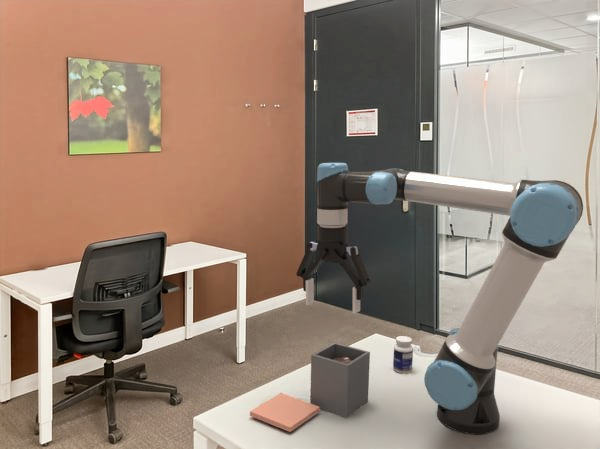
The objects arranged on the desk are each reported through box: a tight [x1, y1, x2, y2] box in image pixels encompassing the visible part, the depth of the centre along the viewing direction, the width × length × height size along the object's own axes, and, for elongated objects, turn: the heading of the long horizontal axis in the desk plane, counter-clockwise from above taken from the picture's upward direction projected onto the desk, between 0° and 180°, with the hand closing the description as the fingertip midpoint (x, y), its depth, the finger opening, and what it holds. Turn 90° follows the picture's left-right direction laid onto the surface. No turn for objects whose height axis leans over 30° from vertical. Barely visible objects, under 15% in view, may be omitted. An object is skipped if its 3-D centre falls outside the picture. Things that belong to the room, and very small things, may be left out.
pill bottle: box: [392, 335, 414, 374], centre depth 170 cm, size 6×6×10 cm
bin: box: [309, 342, 371, 419], centre depth 148 cm, size 11×11×14 cm
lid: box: [249, 392, 321, 433], centre depth 142 cm, size 13×13×2 cm
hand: (332, 307), depth 143 cm, fingers open, 13 cm apart
